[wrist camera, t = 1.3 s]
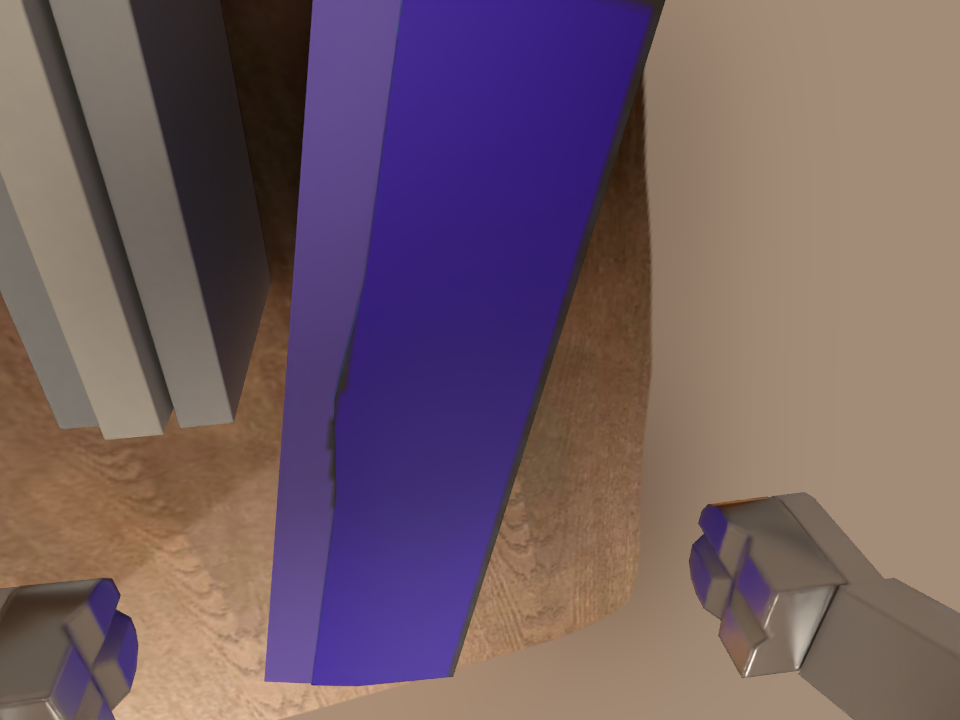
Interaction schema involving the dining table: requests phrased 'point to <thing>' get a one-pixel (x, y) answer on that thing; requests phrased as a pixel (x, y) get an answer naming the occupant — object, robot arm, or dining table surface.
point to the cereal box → (430, 306)
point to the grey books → (128, 211)
